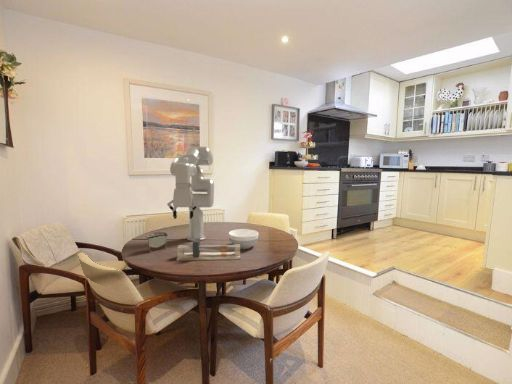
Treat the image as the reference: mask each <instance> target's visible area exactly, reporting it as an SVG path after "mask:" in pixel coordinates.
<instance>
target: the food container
mask: <svg viewBox="0 0 512 384" xmlns="http://www.w3.org/2000/svg"><path fill="white" fill-rule="evenodd" d="M167 237H168V232H166V231H158V232H150V233H148V234H147V236H146V240H147V245H148V251H149V253H150V254H151V253H155V252H159V251H163V250H166V249H167V240H168V238H167Z"/></svg>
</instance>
